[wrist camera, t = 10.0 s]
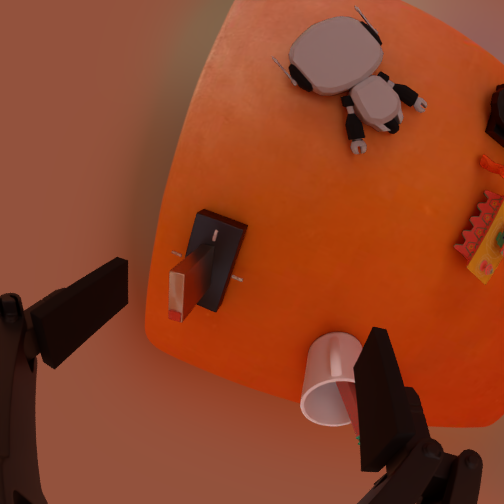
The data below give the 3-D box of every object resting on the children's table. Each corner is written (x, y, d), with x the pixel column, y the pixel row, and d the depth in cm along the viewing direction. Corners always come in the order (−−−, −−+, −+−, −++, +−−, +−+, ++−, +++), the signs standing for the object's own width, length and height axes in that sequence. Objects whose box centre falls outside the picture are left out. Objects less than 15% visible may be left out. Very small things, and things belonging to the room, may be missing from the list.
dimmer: (191, 204, 37) (182, 207, 34) (262, 230, 36) (258, 236, 34) (171, 282, 41) (163, 290, 39) (233, 309, 40) (228, 318, 38)
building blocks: (329, 367, 37) (356, 453, 24) (477, 145, 25) (566, 169, 12) (387, 384, 40) (418, 453, 26) (517, 200, 28) (586, 235, 15)
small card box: (202, 243, 35) (168, 271, 27) (214, 246, 35) (183, 275, 27) (198, 283, 37) (167, 319, 29) (210, 286, 37) (181, 324, 28)
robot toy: (423, 109, 28) (348, 14, 25) (439, 106, 24) (353, -1, 21) (349, 160, 32) (270, 62, 29) (357, 163, 28) (266, 52, 25)
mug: (365, 372, 40) (372, 422, 30) (308, 378, 42) (303, 428, 32) (364, 311, 37) (377, 359, 27) (299, 319, 39) (293, 368, 29)
